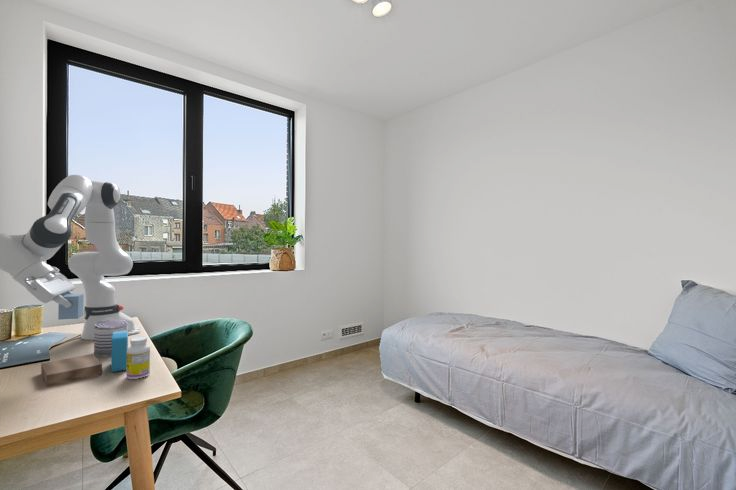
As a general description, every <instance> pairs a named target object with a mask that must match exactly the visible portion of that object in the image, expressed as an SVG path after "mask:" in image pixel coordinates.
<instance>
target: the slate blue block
mask: <svg viewBox="0 0 736 490" xmlns="http://www.w3.org/2000/svg"><path fill="white" fill-rule="evenodd" d="M62 296H63V298H65V299H66V300H69V301H70V302H72V303H73V305H71V306H70V307H69V308H66V307H64V306H63V305H61V304H58V314H57V315H58V318H57V320H76V319H78V320H79V318H82V317H84V301H85V300H84V298H85V294H84V293H73V294H65V295H62Z"/></svg>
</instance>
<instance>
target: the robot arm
mask: <svg viewBox="0 0 736 490" xmlns="http://www.w3.org/2000/svg"><path fill="white" fill-rule="evenodd" d="M49 195H50V196H49V197H48V201H47V206H48V207H49V209H50V212H49V213H48V214H45V215H44V216H42V217H39V218H38V219H36V220H35V221H34V222H33V224H32V226H31V227H30V229H29V230H28V231H27V233H25V234H16V235H15V234H7V233H0V270H1V271H3V272H6V273H7V274H9V275H10V276H11V277H12V279H14V281H16V282H17V283H18V284H20V285H21V286H22V287H24V288H25V289H26V290H27V291H28V292H29V293H30V294H31V295H32V296H33V297H34V298H36V299H37V300H38V301H39V302H41V303H43V304H47V303H50V302H53V301H54V302H55V303H56V304H58V305H59V304H61V305H63V306H64V307H66V308H69V307H70V306H71V305H73V303H72V302H70V301H69V300H66V299H65V298H63V296H62V295H65V294H74V292H73V291H74V290H75V289H76V286H75V284H74V283H72V281H70V279H68V278H67V276H65V275H64V274H62V273H61V272H60V271H61V270H60V269H59V268H57V267H56V266H52V265H50V264H49V263H46V261H47V260H50V259H51V258H52V257H54V256H55V254H56V253H57V252H58V251H59V250H60V249H61V247H62V246H63V245H64V244H66V243H67V242H68V241H69V240H70V239H71V237H72V232H73V231H72V221H73V219H74V218H75V217H77V216H79V215H80V214H82V212H83V211H84V237H85V239H86V241H87V242H89V243H91V244H93V245H94V247H96V248H97V251H81V252H76V253H73V254H72V255H71V256H70V257H69V258H68V264H67V265H68V269H69V270H70V272H71V273H73V274H74V275H75V276H77V277H78V279H79V280H80V281H81V282H82V283H81V284H82V285H83V287H84V292H85V294H84V296H85V306H84V307H83V318H84V324H83V330H82V333H81V334H80V339H81V340H94V327H95V325H93V324H95V323H97V322H99V321H106V320H124V321H127V322H129V324H128V336H130V335H136V334H139V333H140V332H141V329H140V328H139V327H138V326H136V325H135V322H134V319H133V318H132V317H131V316H129V315H127V314H125V313H123V312H122V311H123V310H124V308H125V307H124V306H123V305H120V304H117V303H116V302H117V301H116V296H117V294H116V293H117V292H116V288H115V286H114V285H113V284H111V283H109V282H108V281H107V280H106V279H105V276H107V277H111V276H113V277H115V276H116V277H117V276H123V275H128V274H129V273H130V272H131V271H132V269H133V265H134V262H133V259H132V257H131V256H130V255H129V254H128V253H127V252H126V251H124V250H123V249H122V248H121V246H120V244H119V242H118V239H117V233H116V219H115V211H114V207H115V206H118V204H119V203H120V201H121V191H120V188H119V187H118V185H116V184H115V183H112V182H107V181H105V182H103V181H96V180H90V179H88V178H87V177H85V176H83V175H79V174H70V175H68V176H66V177H65V178H63V179H62V180H60V182H59V183H58V184H57V185H56V186H55V188H54V189H53V190H52V192H51V193H50V194H49ZM84 209H85V210H84Z"/></svg>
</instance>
